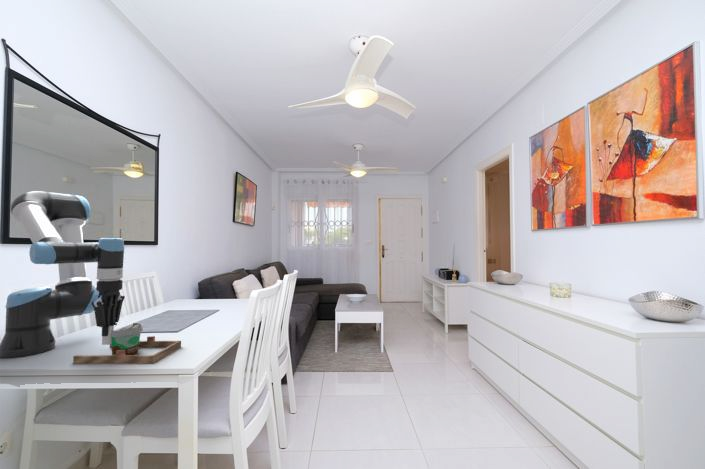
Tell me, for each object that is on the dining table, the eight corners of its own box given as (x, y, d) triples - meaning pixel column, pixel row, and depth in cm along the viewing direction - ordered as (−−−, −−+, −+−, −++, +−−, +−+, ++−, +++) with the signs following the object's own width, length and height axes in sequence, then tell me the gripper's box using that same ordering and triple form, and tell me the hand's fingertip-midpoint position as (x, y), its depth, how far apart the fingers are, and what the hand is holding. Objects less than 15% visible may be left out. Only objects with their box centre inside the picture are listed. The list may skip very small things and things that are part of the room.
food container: (126, 360, 107) (127, 331, 107) (109, 360, 106) (109, 331, 107) (149, 348, 119) (150, 322, 119) (133, 348, 119) (134, 322, 119)
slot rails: (73, 363, 104) (73, 351, 104) (111, 347, 121) (112, 336, 121) (153, 363, 104) (153, 350, 104) (181, 346, 121) (181, 336, 121)
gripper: (106, 282, 107) (103, 350, 106) (132, 277, 120) (130, 338, 119) (84, 281, 107) (81, 350, 106) (113, 277, 120) (110, 338, 119)
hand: (107, 344), depth 113 cm, fingers closed
